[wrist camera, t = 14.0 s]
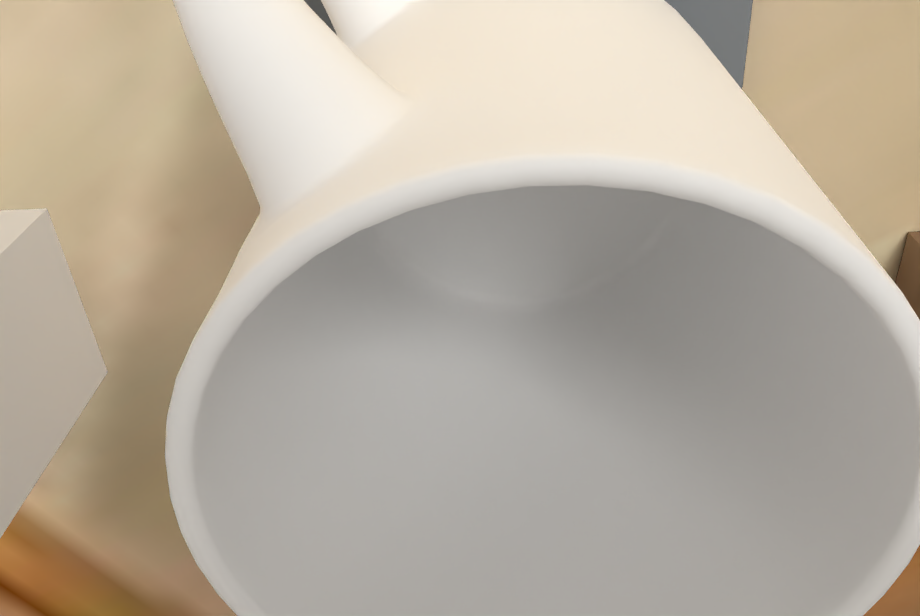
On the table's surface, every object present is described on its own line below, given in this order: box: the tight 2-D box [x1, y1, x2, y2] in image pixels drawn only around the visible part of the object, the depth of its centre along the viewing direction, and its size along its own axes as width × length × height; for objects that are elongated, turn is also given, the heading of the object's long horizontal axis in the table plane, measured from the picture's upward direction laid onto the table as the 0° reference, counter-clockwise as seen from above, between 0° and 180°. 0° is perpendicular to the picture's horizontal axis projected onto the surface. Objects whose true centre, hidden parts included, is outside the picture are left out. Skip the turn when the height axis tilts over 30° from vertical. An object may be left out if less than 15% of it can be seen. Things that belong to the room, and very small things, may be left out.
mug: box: [165, 0, 920, 616], centre depth 13 cm, size 9×12×11 cm
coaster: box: [304, 0, 753, 89], centre depth 18 cm, size 10×10×1 cm
